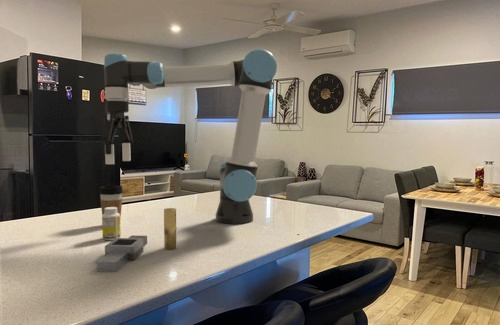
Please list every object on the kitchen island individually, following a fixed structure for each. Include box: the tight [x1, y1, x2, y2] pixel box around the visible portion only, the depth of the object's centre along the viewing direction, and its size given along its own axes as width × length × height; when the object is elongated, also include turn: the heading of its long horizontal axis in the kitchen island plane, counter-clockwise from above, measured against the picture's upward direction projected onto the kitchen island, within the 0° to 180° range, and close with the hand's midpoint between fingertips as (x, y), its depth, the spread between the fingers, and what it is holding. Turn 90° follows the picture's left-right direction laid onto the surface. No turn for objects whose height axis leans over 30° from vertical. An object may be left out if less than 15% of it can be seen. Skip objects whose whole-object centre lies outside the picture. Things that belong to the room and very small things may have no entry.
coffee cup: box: [98, 184, 124, 221], centre depth 143 cm, size 8×8×15 cm
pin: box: [163, 207, 177, 251], centre depth 116 cm, size 4×4×12 cm
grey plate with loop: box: [96, 235, 148, 273], centre depth 108 cm, size 24×8×4 cm, turn 177°
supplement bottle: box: [101, 207, 121, 241], centre depth 126 cm, size 6×6×10 cm
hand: (118, 162), depth 133 cm, fingers open, 13 cm apart
